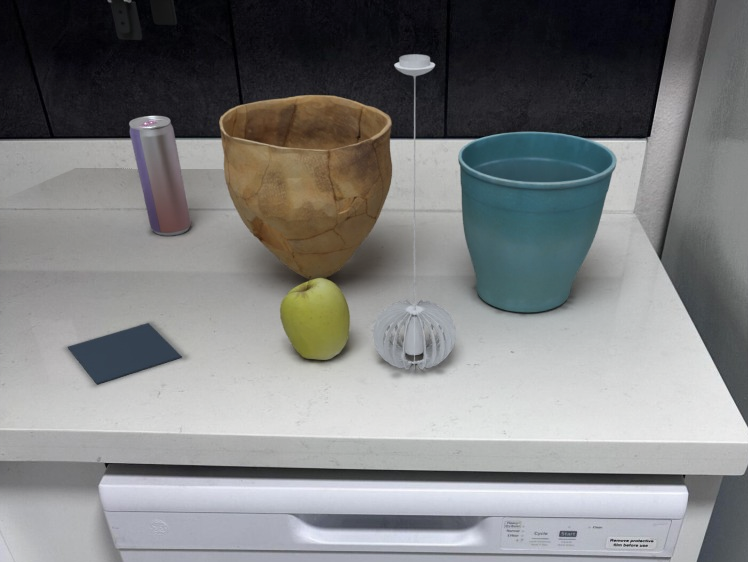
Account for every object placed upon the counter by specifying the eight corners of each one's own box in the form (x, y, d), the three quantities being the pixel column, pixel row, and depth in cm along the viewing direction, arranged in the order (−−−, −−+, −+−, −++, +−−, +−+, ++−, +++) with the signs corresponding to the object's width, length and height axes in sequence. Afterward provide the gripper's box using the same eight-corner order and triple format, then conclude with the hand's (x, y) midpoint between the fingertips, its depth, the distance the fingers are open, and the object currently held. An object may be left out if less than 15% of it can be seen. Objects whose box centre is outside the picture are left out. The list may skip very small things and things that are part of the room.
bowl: (418, 262, 110) (419, 103, 96) (351, 325, 96) (341, 151, 83) (289, 238, 116) (273, 87, 103) (209, 295, 103) (179, 128, 89)
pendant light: (356, 358, 90) (340, 58, 70) (413, 330, 95) (414, 42, 75) (414, 389, 85) (415, 75, 65) (471, 358, 90) (489, 57, 70)
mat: (67, 348, 93) (67, 346, 92) (148, 324, 97) (148, 322, 97) (96, 384, 86) (96, 383, 86) (181, 357, 91) (181, 356, 91)
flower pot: (591, 333, 94) (616, 186, 83) (442, 320, 97) (447, 176, 85) (595, 270, 107) (617, 135, 96) (463, 260, 110) (469, 128, 98)
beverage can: (144, 234, 118) (119, 125, 108) (165, 220, 122) (142, 113, 112) (178, 239, 116) (156, 129, 106) (199, 224, 121) (179, 117, 111)
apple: (374, 338, 91) (350, 266, 83) (325, 381, 89) (296, 311, 81) (330, 316, 96) (303, 246, 88) (282, 356, 93) (250, 288, 85)
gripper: (123, -143, 99) (153, 18, 110) (45, -137, 86) (88, 44, 98) (178, -143, 97) (203, 20, 109) (106, -137, 85) (143, 46, 96)
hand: (148, 31), depth 103 cm, fingers open, 9 cm apart
